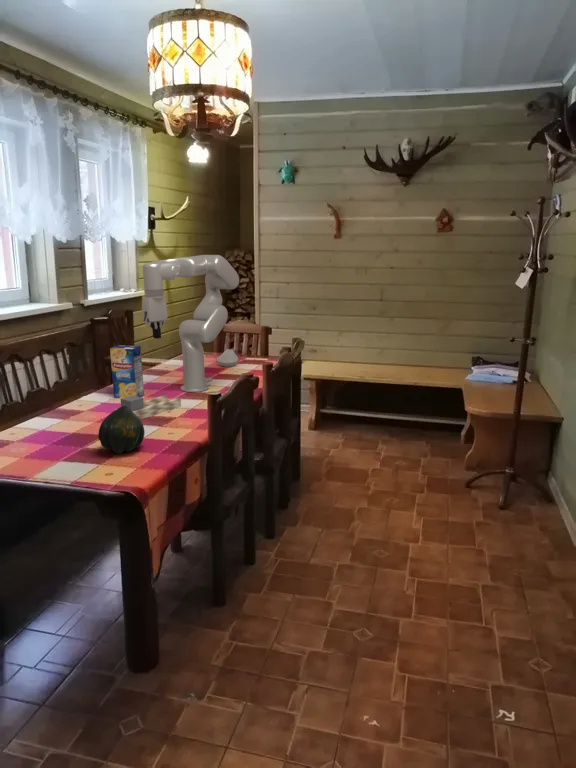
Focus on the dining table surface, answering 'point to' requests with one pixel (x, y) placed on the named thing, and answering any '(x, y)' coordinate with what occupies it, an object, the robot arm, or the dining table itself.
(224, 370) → the dining table surface
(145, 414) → the birch chute
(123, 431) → the squash
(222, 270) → the robot arm
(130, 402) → the slate block
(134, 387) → the beverage box
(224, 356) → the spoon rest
